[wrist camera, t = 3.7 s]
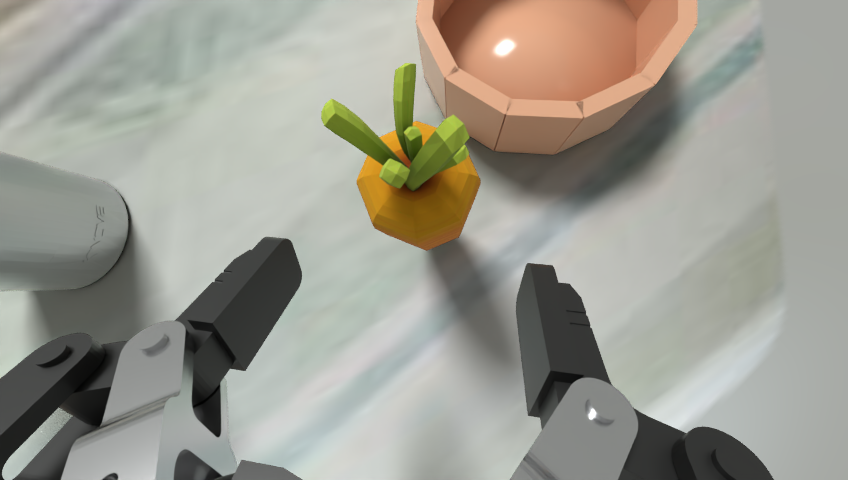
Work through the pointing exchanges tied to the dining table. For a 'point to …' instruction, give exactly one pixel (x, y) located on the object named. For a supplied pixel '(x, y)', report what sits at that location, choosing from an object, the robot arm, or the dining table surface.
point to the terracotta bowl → (546, 64)
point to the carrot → (411, 169)
